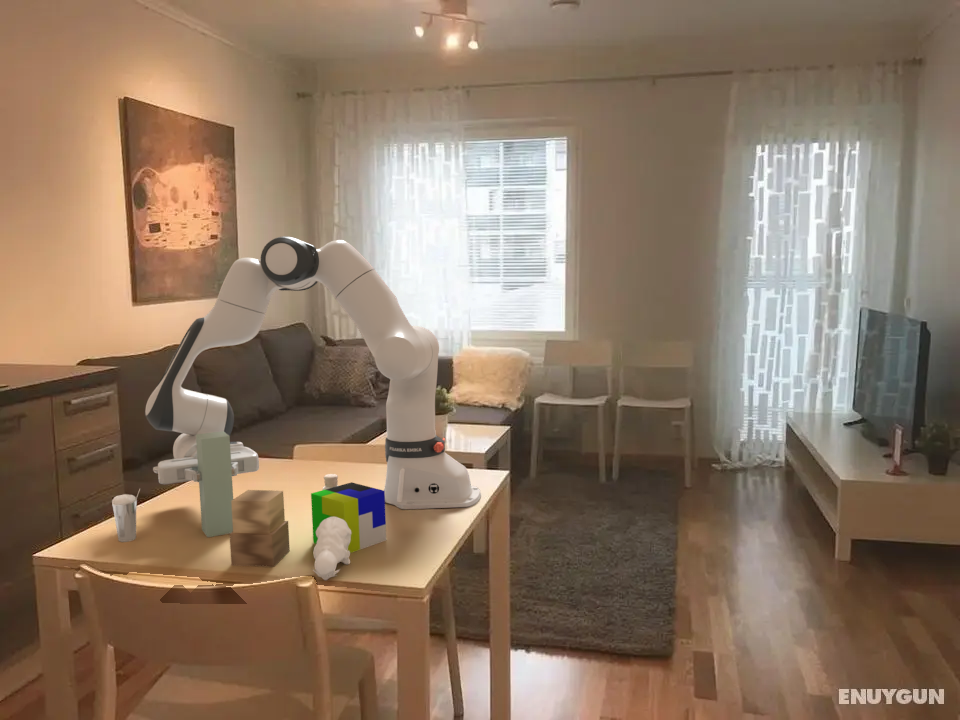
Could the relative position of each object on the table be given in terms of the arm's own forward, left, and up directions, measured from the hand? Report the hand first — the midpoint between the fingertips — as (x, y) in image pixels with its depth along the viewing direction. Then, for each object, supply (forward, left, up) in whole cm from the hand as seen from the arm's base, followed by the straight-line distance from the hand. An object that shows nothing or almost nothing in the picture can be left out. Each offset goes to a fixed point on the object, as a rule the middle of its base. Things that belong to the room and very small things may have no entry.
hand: (215, 474), depth 167 cm
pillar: (+1, -1, -12) cm, 12 cm away
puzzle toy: (-28, +3, -12) cm, 31 cm away
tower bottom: (-14, +13, -12) cm, 23 cm away
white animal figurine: (-29, +18, -12) cm, 37 cm away
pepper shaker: (-22, -5, -12) cm, 26 cm away
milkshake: (+17, +5, -12) cm, 21 cm away
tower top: (-14, +13, -6) cm, 20 cm away
